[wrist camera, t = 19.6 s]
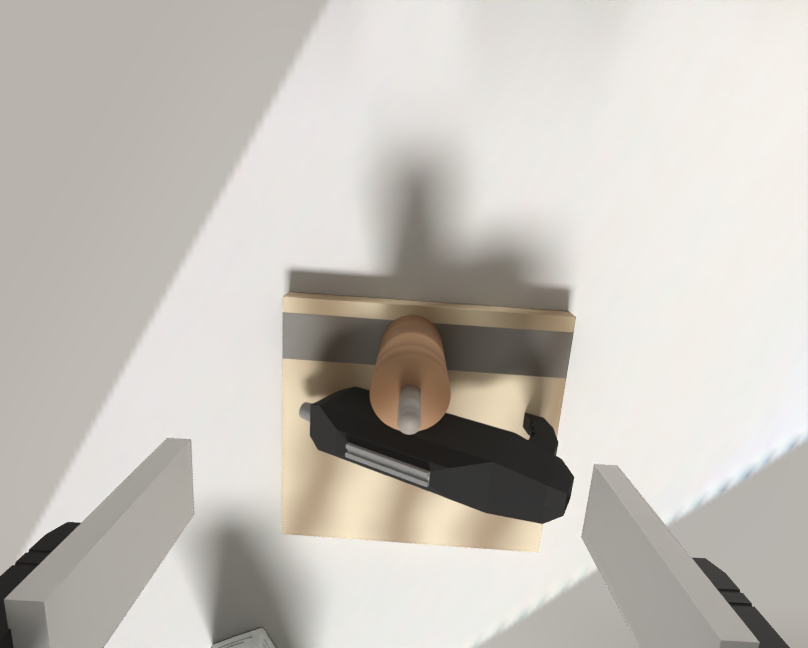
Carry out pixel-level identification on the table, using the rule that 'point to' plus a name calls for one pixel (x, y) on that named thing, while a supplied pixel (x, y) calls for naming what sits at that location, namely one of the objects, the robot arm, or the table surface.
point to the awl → (410, 376)
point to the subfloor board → (470, 398)
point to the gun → (450, 456)
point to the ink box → (247, 640)
